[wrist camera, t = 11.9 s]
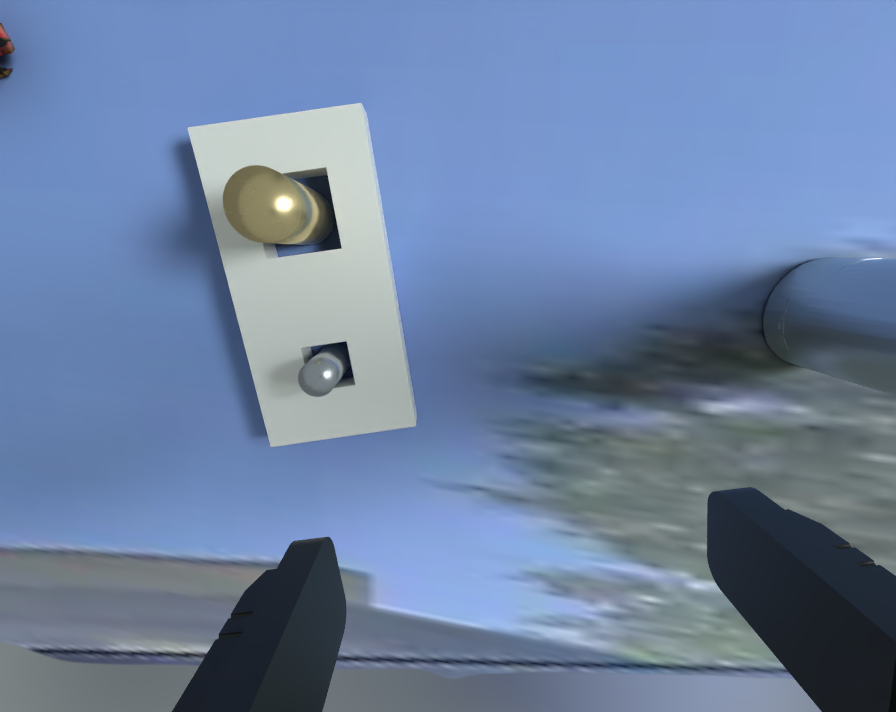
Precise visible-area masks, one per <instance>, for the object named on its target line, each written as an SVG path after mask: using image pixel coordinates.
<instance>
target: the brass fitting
mask: <svg viewBox="0 0 896 712" xmlns="http://www.w3.org/2000/svg"><path fill="white" fill-rule="evenodd" d="M223 208H224V212H225V215H226V217H227V219H228V221H229V223H230V224H231V226H232V227H233V228H234V229H235V230H236V231H237V232H238V233H239V234H240V235H242V236H243V237H245V238H247V239H249V240H251V241H254V242H259V243H277V244H296V245H314V244H318V243H320V242H322V241H323V240H325V239H326V238H327V237H328V235H329V234H330V232H331V230H332V228H333V223H334V215H333V210H332V208H331V205H330V204H329V202H328V201H327V199H326V198H325V197H324V196H323V195H321V194H320V193H318V192H317V191H315V190H313V189H311V188H309V187H307V186H305V185H303V184H301V183H299V182H297V181H295V180H293V179H291V178H289V177H287V176H285V175H283V174H281V173H279V172H278V171H276V170H274V169H272V168H269V167H266V166H261V165H251V166H246V167H244V168H241V169H240V170H238V171H236V172H235V173H234V174H233V175H232V176H231V177H230V178H229V180H228V181H227V183H226V185H225V188H224V192H223Z"/></svg>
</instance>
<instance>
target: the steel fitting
mask: <svg viewBox="0 0 896 712" xmlns="http://www.w3.org/2000/svg"><path fill="white" fill-rule="evenodd" d="M350 364H351V360H350V355H349V351H348V350H347V349H346V348H345V347H344V346H342V345H339V344H330V345H328V346H326V347H325V348H324V349H323V350H321V351H320V352H319V353H318V354H317V355H316V356H314V357H313V358H312V359H311V360H310V361H309V362H307V363H306V364H305V365H304V366H303V367H302V368H301V369H300V371H299V374H298V383H299V385H300V387H301V389H302V390H303V391H304V392H305V393H306V394H308V395H310V396H314V397H322V396H325V395H327V394H329V393H330V392H331V391H332V389H333V388H334V387H335V385H336V384H337V383H338V381H339V380H340V379H341V377H342V376H343V375H344V373H345V372H346V371H347V369H348V368H349V366H350Z"/></svg>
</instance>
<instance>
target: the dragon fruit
mask: <svg viewBox="0 0 896 712" xmlns="http://www.w3.org/2000/svg"><path fill="white" fill-rule="evenodd" d="M13 45H14V44H12V42H11V40H10V38H9V37H8V35H7V33H6V31H5V30H4V28H3V26H2V23H0V56H2V55H4V54H11V53H12V52H13V51H14V50H15V48H14V46H13ZM11 71H12V69H6V68H1V67H0V78H2V77H4V76H9V73H10V72H11Z"/></svg>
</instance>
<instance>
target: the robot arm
mask: <svg viewBox="0 0 896 712" xmlns="http://www.w3.org/2000/svg"><path fill="white" fill-rule="evenodd" d="M763 328H764V335H765V338H766V341H767V343H768V345H769V347H770V348H771V350H772V351H773V352H774V353H775V354H776V355H777V356H778V357H779V358H781V359H783V360H784V361H786V362H788V363H791V364H795V365H798V366H801V367H804V368H807V369H811V370H814V371H817V372H820V373H824V374H827V375H830V376H833V377H836V378H839V379H843V380H846V381H849V382H852V383H856V384H859V385H862V386H866V387H869V388H872V389H875V390H879V391H882V392H885V393H889V394H892V395H895V396H896V259H869V258H824V259H816V260H813V261H810V262H807V263H804V264H802V265H800V266H799V267H797V268H795V269H793V270H792V271H791V272H790V273H788V274H787V275H786V276H785V277H784V278H783V279H782V280H781V281H780V282H779V283H778V285H777V286H776V287H775V288H774V290H773V292H772V294H771V295H770V297H769V299H768V302H767V305H766V307H765V311H764V318H763ZM707 558H708V564H709V567H710V571H711V573H712V576H713V578H714V580H715V582H716V584H717V585H718V587H719V588H720V590H721V591H722V592H723V593H724V595H725V596H726V597H727V598H728V599H729V601H730V602H731V603H732V604H733V605H734V607H735V608H736V609H737V610H738V611H739V613H740V614H741V615H742V616H743V617H744V619H745V620H746V621H747V622H748V623H749V625H750V626H751V627H752V628H753V629H754V631H755V632H756V633H757V634H758V635H759V637H760V638H761V639H762V640H763V641H764V643H765V644H766V645H767V646H768V647H769V649H770V650H771V651H772V652H773V653H774V655H775V656H776V657H777V658H778V659H779V661H780V662H781V663H782V664H783V665H784V667H785V668H786V669H787V670H788V671H789V673H790V674H791V675H792V676H793V678H794V679H795V680H796V681H797V682H798V684H799V685H800V686H801V687H802V688H803V690H804V691H805V692H806V693H807V694H808V696H809V697H810V698H811V699H812V700H813V701H814V703H815V704H816V705H817V706H818V707H819V709H820V710H821V711H822V712H896V576H895V575H893V574H892V573H891V572H889V571H888V570H886V569H885V568H884V567H882V566H881V565H875V563H874V560H872V559H871V558H869V557H868V556H866V555H865V554H864V553H862V552H861V551H859V550H858V549H857V548H851V546H850V544H849V543H848V542H847V541H845V540H844V539H842V538H841V537H839V536H838V535H837V534H835V533H834V532H832V531H831V530H830V529H828V528H827V527H825V526H824V525H822V524H821V523H818V522H816V521H814V520H811V519H809V518H807V517H805V516H802V515H800V514H798V513H796V512H793V511H791V510H789V509H787V510H784V509H783V508H781V507H780V506H779V505H777V504H776V503H775V502H773V501H772V500H771V499H769V498H768V497H767V496H765V495H764V494H763V493H761V492H760V491H758V490H757V489H755V488H751V487H748V488H740V489H731V490H723V491H715V492H712V493H711V494H710V495H709V497H708V514H707ZM345 623H346V599H345V594H344V589H343V585H342V580H341V576H340V571H339V567H338V562H337V558H336V553H335V548H334V545H333V542H332V540H331V538H330V537H323V538H315V539H307V540H298V541H293V542H292V543H291V544H290V546H289V547H288V549H287V551H286V553H285V555H284V557H283V558H282V560H281V562H280V564H279V566H278V568H277V569H272V570H266V571H265V572H264V573H263V574H262V575H261V576H260V577H259V578H258V579H257V580H256V581H255V582H254V583H253V584H252V585H251V586H250V587H249V588H247V589H246V590H245V592H244V593H243V595H242V597H241V598H240V600H239V602H238V603H237V605H236V607H235V608H234V610H233V612H232V613H231V618H230V619H228V620H227V622H226V623H225V625H224V627H223V628H222V630H221V632H220V633H219V638H218V639H216V640H215V641H214V643H213V645H212V646H211V648H210V650H209V651H208V653H207V655H206V656H205V658H204V660H203V661H202V663H201V665H200V666H199V668H198V670H197V671H196V673H195V675H194V676H193V678H192V680H191V681H190V683H189V684H188V686H187V688H186V689H185V691H184V693H183V694H182V696H181V698H180V699H179V701H178V703H177V704H176V706H175V708H174V709H173V711H172V712H322V710H323V707H324V703H325V699H326V696H327V692H328V688H329V685H330V681H331V677H332V674H333V670H334V667H335V663H336V659H337V656H338V652H339V648H340V645H341V641H342V637H343V634H344V629H345Z"/></svg>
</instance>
